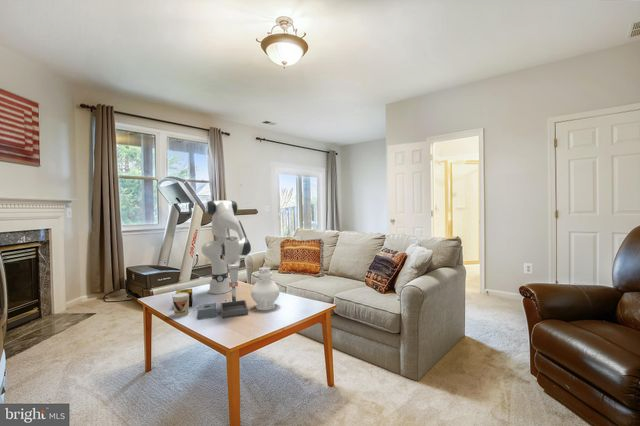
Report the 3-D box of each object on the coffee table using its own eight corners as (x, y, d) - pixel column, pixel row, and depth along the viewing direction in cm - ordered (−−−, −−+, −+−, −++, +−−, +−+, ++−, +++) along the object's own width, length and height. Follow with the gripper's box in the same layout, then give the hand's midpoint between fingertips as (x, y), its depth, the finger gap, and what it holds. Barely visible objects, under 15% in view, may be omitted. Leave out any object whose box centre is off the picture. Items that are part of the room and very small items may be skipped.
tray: (221, 308, 195) (221, 302, 194) (245, 305, 199) (245, 300, 199) (221, 318, 178) (221, 312, 177) (248, 314, 182) (247, 308, 182)
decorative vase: (274, 312, 185) (272, 271, 184) (246, 310, 189) (245, 270, 188) (283, 302, 203) (282, 265, 202) (258, 301, 206) (257, 265, 205)
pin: (229, 302, 189) (229, 282, 188) (238, 301, 190) (237, 281, 190) (230, 303, 186) (229, 283, 186) (238, 302, 188) (237, 282, 188)
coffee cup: (171, 318, 180) (170, 297, 179) (175, 312, 189) (174, 293, 189) (188, 316, 182) (187, 296, 181) (191, 311, 191) (190, 292, 190)
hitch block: (199, 313, 187) (198, 305, 186) (216, 311, 190) (216, 303, 190) (198, 318, 177) (197, 310, 177) (216, 316, 180) (216, 308, 180)
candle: (175, 309, 195) (174, 294, 194) (176, 304, 204) (175, 290, 204) (192, 307, 199) (192, 291, 198) (192, 302, 208) (192, 288, 208)
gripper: (226, 261, 196) (227, 282, 197) (228, 266, 177) (228, 290, 177) (236, 260, 198) (237, 281, 199) (239, 265, 179) (240, 289, 179)
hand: (233, 285), depth 188 cm, fingers closed on pin, 2 cm apart
